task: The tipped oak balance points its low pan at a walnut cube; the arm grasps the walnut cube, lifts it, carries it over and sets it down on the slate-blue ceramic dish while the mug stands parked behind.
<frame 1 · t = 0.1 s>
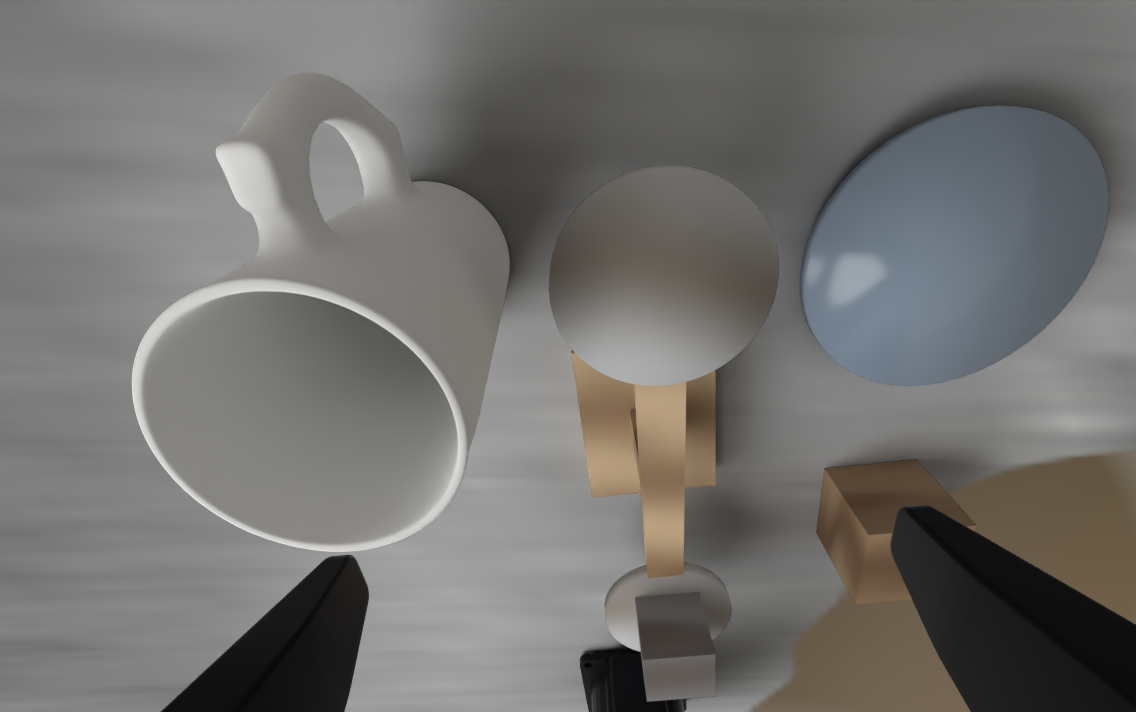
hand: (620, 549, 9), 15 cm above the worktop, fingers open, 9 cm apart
balance: (645, 409, 25), on the worktop
dish: (932, 254, 21), on the worktop
mug: (427, 218, 21), on the worktop
block: (863, 496, 28), on the worktop
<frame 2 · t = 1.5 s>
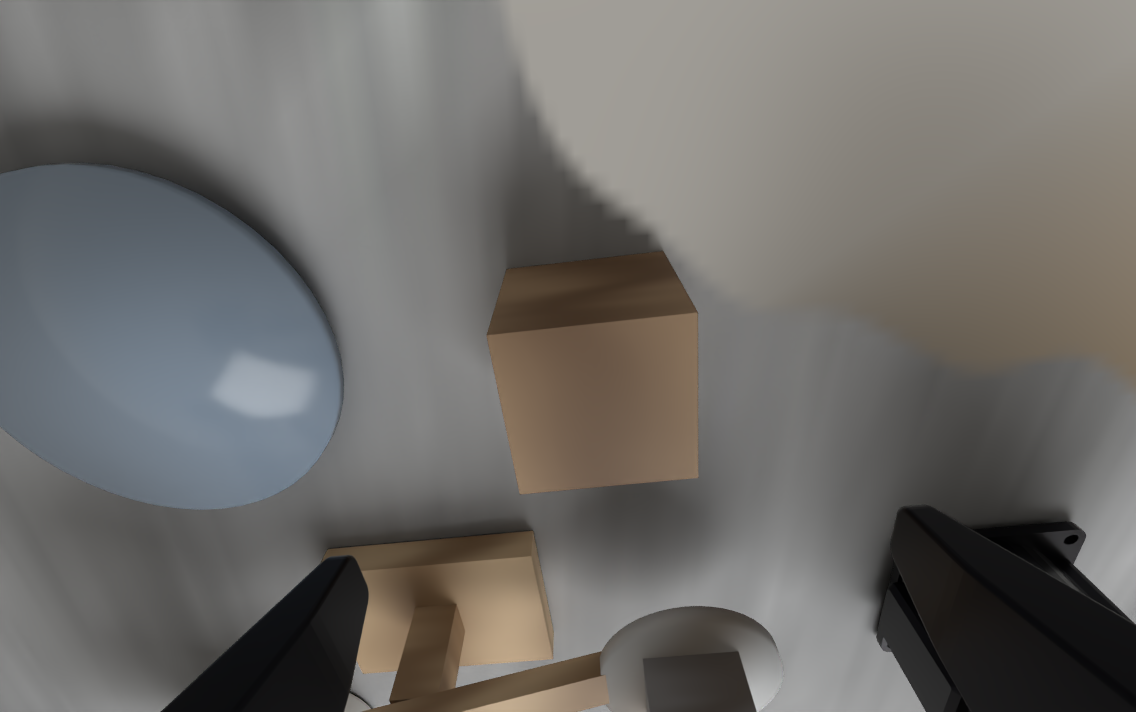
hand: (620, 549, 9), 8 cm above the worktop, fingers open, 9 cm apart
balance: (446, 592, 22), on the worktop
dish: (169, 347, 16), on the worktop
block: (591, 329, 16), on the worktop
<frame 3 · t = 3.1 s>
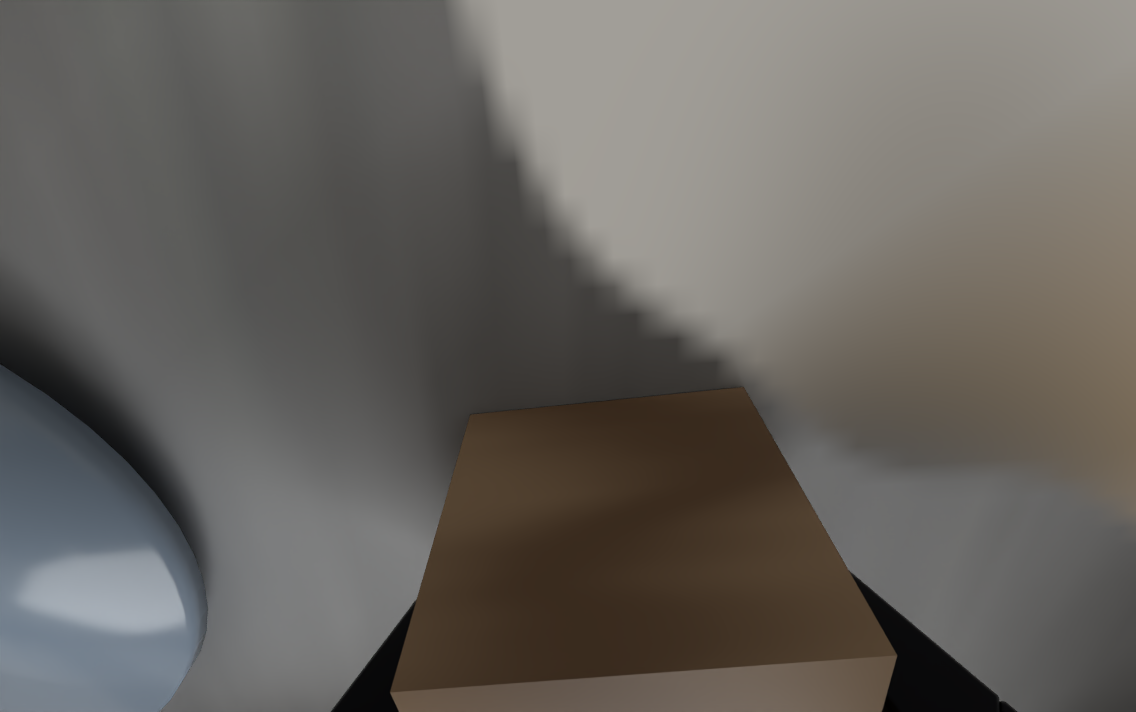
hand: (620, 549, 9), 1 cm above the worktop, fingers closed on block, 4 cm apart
block: (615, 503, 10), on the worktop, touching gripper
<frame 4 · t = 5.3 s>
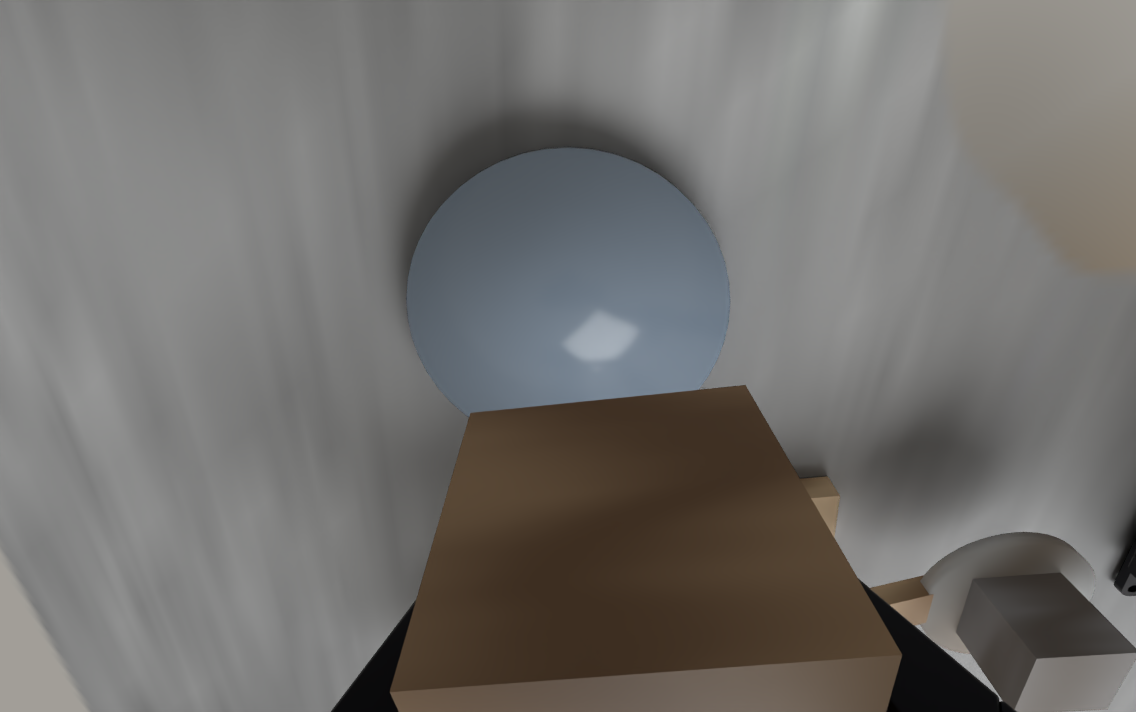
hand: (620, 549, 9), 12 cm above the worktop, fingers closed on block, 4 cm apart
balance: (731, 535, 24), on the worktop
dish: (568, 307, 19), on the worktop
block: (616, 502, 10), point 11 cm above the worktop, touching gripper
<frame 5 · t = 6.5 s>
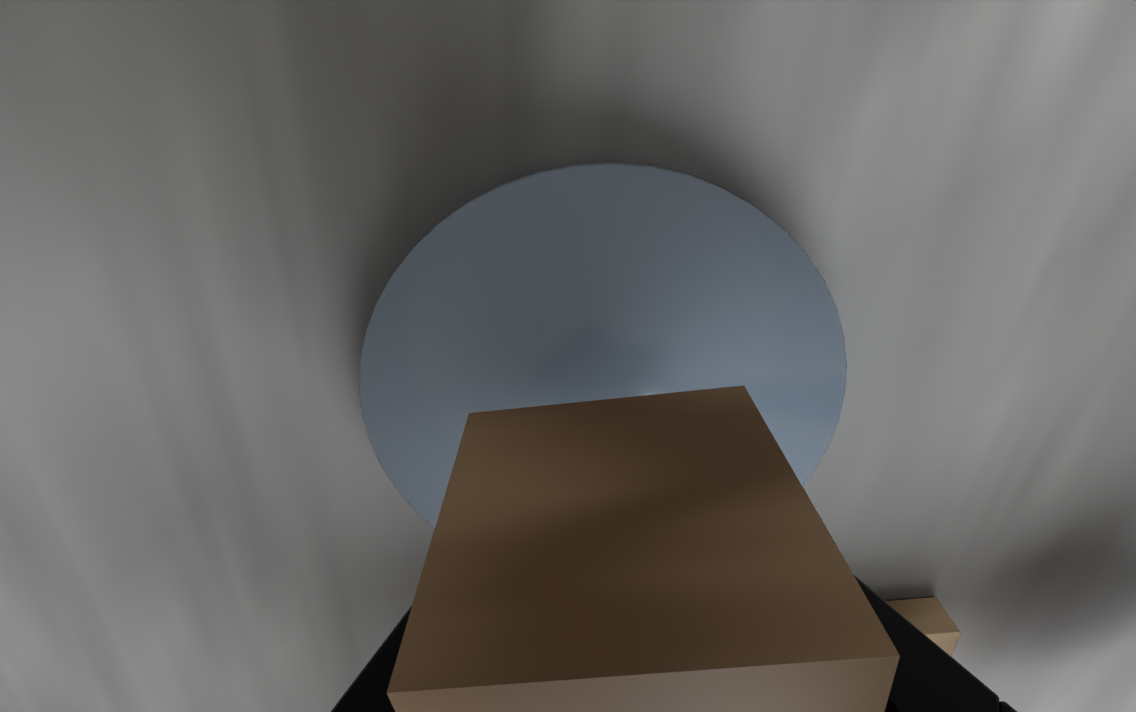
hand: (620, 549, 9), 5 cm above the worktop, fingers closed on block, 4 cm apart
balance: (800, 663, 19), on the worktop
dish: (598, 389, 13), on the worktop
block: (615, 503, 10), point 4 cm above the worktop, touching gripper
when the fingers open (4 cm above the worktop, at t = 7.5 s): block drops 1 cm, resting on dish.
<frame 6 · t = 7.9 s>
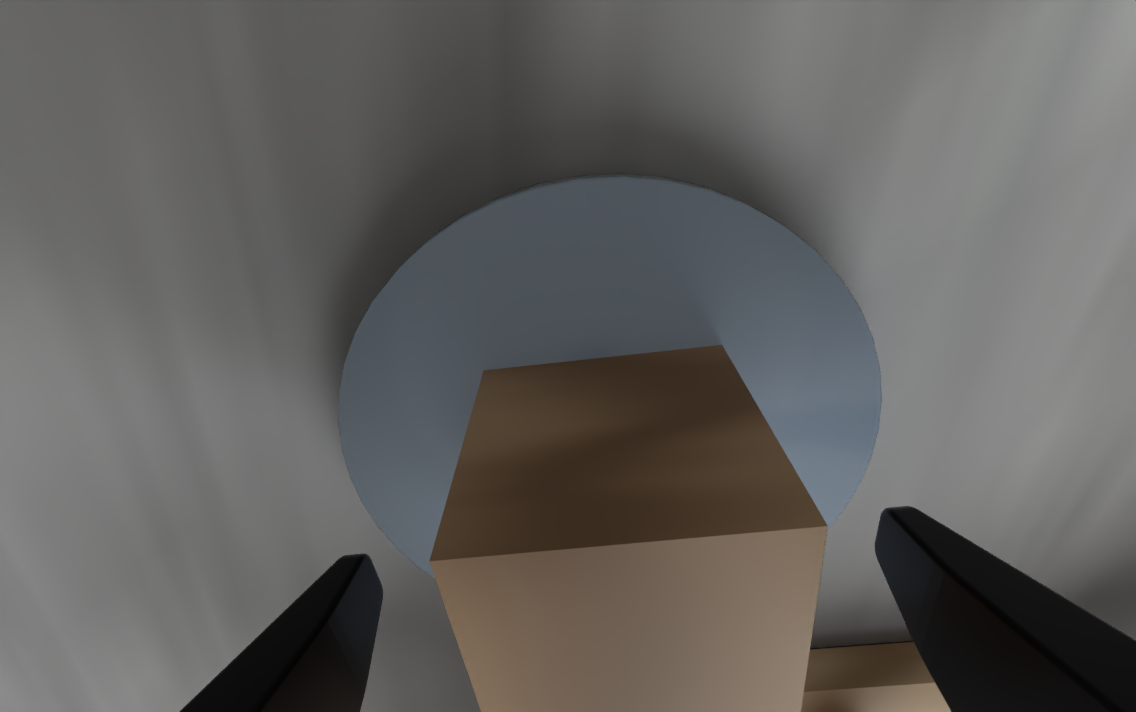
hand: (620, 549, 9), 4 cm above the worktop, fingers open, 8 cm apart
balance: (818, 705, 17), on the worktop
dish: (604, 421, 12), on the worktop
block: (611, 452, 11), point 1 cm above the worktop, touching dish
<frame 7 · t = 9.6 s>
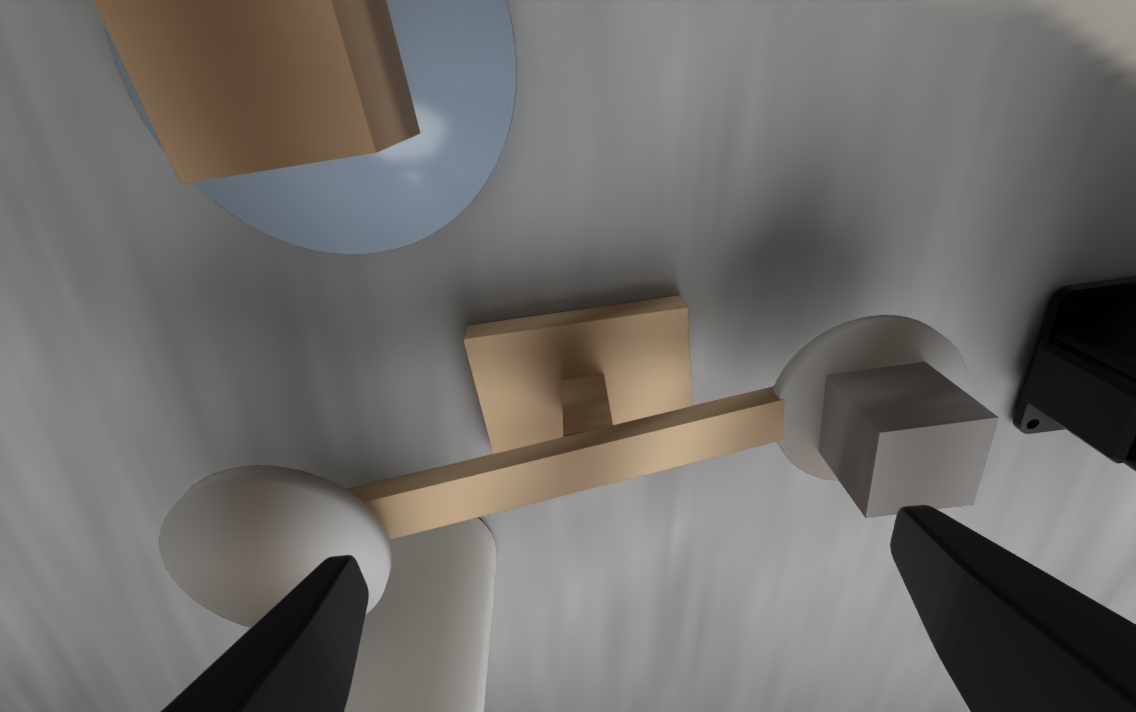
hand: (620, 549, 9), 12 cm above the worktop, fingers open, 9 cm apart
balance: (583, 379, 21), on the worktop
dish: (332, 62, 16), on the worktop
mug: (398, 546, 25), on the worktop
block: (319, 59, 15), point 1 cm above the worktop, touching dish
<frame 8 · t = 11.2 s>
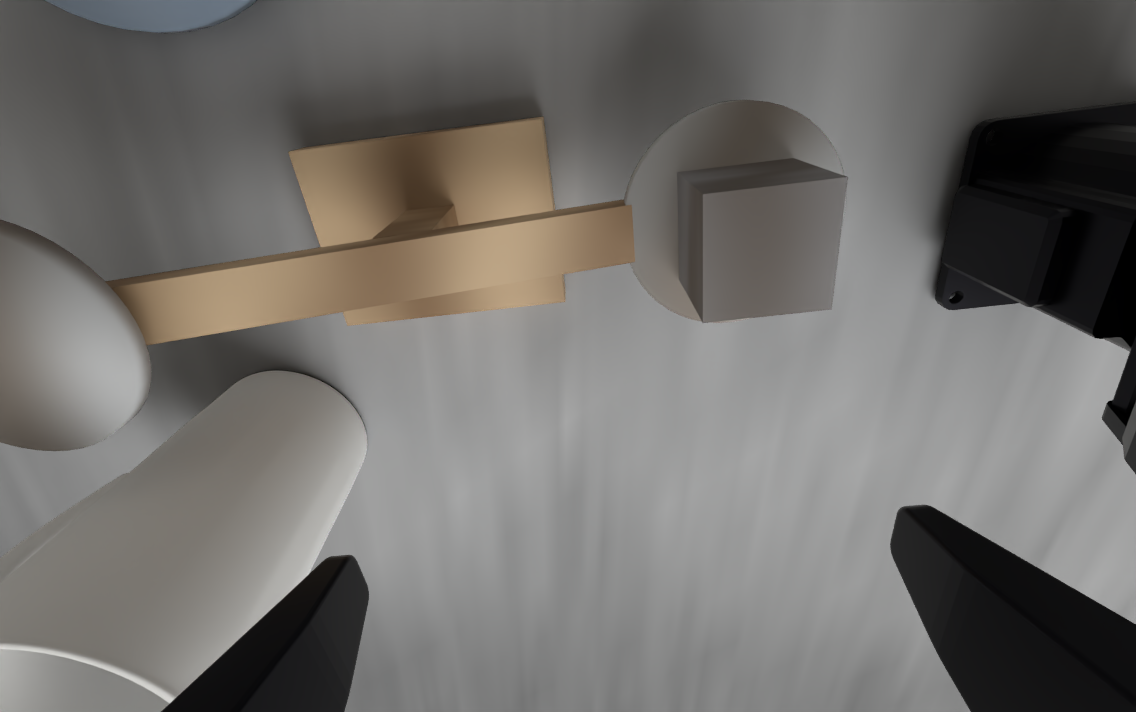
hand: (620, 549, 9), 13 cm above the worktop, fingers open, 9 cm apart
balance: (443, 223, 19), on the worktop
mug: (261, 430, 23), on the worktop
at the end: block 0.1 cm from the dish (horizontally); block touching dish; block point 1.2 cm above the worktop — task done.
